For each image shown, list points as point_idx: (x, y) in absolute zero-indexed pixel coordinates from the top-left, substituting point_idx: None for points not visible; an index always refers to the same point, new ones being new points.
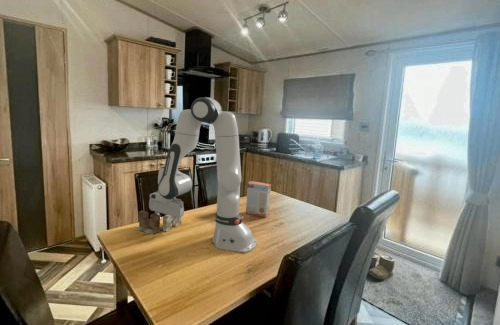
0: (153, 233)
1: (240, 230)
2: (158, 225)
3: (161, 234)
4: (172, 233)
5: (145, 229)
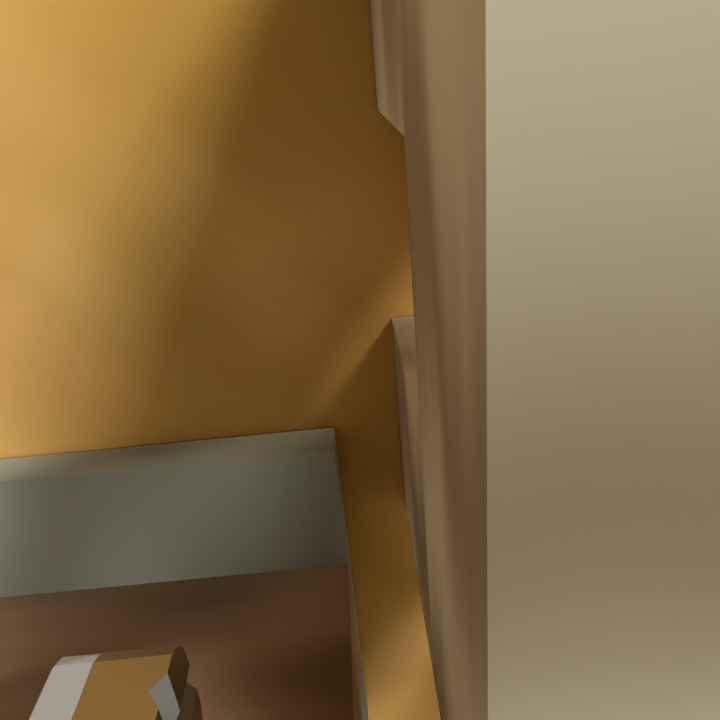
0: (364, 699)
1: None
2: (355, 714)
3: None
4: None
5: None
